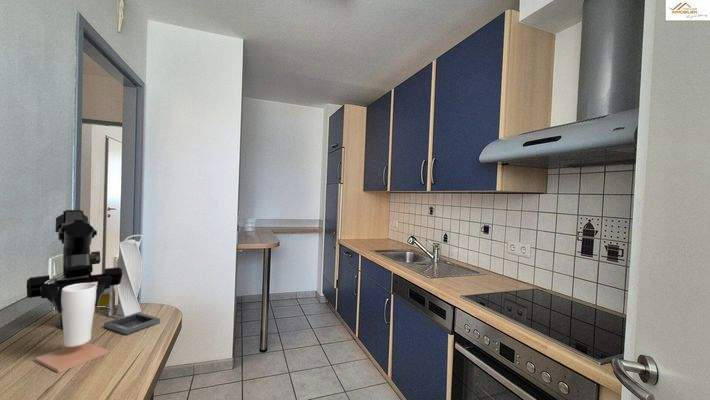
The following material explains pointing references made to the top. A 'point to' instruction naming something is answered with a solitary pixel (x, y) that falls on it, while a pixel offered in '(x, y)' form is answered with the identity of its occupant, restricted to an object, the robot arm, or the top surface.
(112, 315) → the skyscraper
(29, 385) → the top surface
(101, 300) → the supplement bottle
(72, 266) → the robot arm
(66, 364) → the terracotta tile
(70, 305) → the white cup
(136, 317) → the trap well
